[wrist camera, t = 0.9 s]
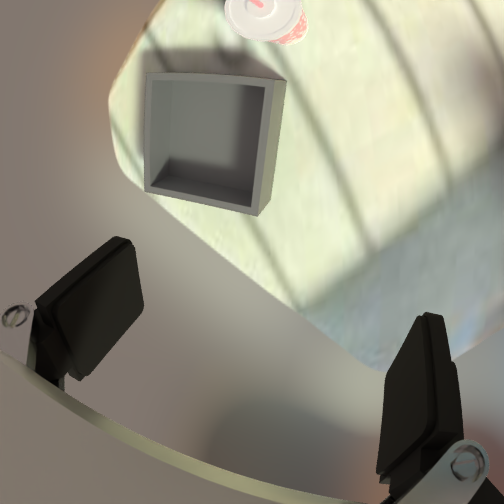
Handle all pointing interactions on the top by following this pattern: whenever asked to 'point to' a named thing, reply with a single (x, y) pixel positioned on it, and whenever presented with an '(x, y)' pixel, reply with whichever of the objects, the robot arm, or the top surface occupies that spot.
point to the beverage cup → (268, 20)
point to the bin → (212, 138)
